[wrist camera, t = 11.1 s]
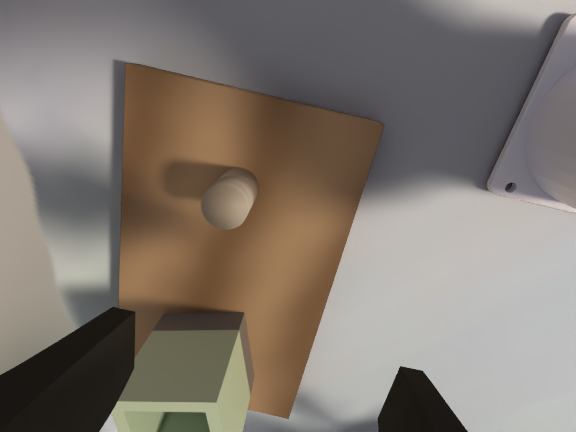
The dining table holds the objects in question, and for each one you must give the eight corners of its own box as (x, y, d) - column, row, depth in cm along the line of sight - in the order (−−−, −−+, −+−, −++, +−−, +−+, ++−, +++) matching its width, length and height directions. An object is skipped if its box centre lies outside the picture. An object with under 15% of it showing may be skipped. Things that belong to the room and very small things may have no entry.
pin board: (379, 122, 16) (398, 135, 13) (289, 403, 24) (284, 465, 20) (138, 63, 16) (82, 59, 12) (125, 365, 24) (88, 420, 20)
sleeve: (244, 312, 20) (216, 402, 14) (254, 375, 22) (233, 477, 16) (163, 313, 20) (106, 401, 15) (180, 375, 22) (134, 473, 17)
